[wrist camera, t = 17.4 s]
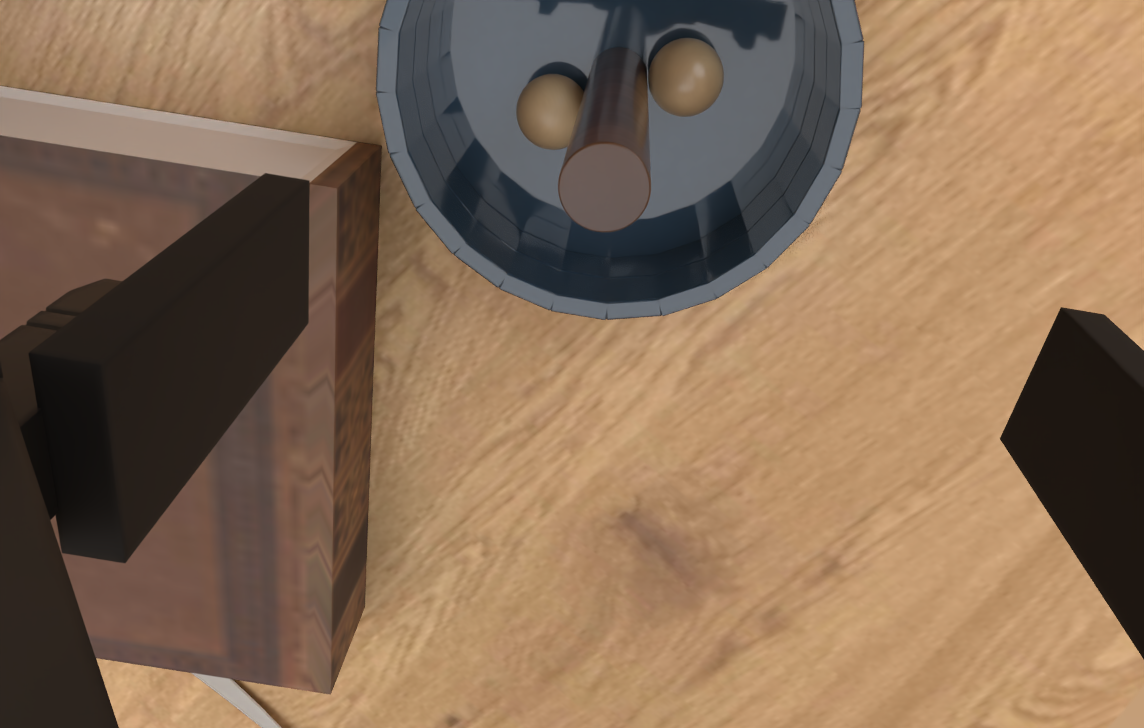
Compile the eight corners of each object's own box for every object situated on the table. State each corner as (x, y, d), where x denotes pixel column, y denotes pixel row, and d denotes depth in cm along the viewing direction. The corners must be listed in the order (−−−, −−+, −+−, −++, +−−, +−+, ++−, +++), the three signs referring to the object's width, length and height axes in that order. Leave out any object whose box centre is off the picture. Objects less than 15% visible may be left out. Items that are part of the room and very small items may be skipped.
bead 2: (666, 19, 36) (712, 22, 33) (705, 73, 37) (751, 79, 35) (620, 76, 35) (663, 83, 33) (662, 127, 37) (705, 137, 35)
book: (381, 145, 40) (337, 188, 34) (364, 607, 53) (330, 694, 47) (-157, 61, 39) (-294, 89, 34) (-39, 544, 53) (-123, 624, 47)
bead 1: (598, 65, 36) (539, 69, 34) (609, 141, 36) (552, 148, 34) (553, 79, 38) (496, 83, 36) (564, 150, 38) (508, 157, 37)
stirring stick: (594, 42, 36) (565, 134, 22) (652, 52, 36) (659, 150, 22) (585, 101, 37) (551, 224, 23) (641, 111, 37) (641, 240, 23)
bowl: (429, -207, 33) (388, -227, 28) (888, -128, 33) (934, -133, 28) (401, 232, 41) (366, 280, 36) (769, 293, 42) (788, 351, 36)
